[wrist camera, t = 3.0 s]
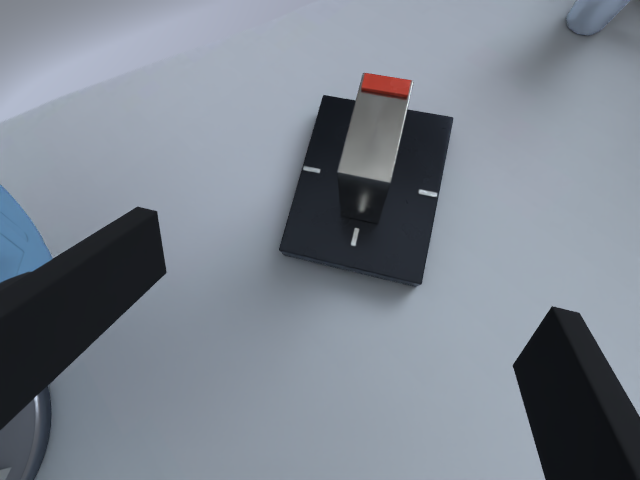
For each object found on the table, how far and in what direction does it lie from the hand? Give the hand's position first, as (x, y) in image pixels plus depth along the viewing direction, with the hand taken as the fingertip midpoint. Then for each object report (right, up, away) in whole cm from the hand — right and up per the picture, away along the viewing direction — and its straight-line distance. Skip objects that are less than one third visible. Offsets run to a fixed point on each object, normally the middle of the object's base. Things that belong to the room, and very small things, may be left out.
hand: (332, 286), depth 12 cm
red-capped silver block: (+3, +6, +15) cm, 17 cm away
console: (+4, +6, +17) cm, 19 cm away
